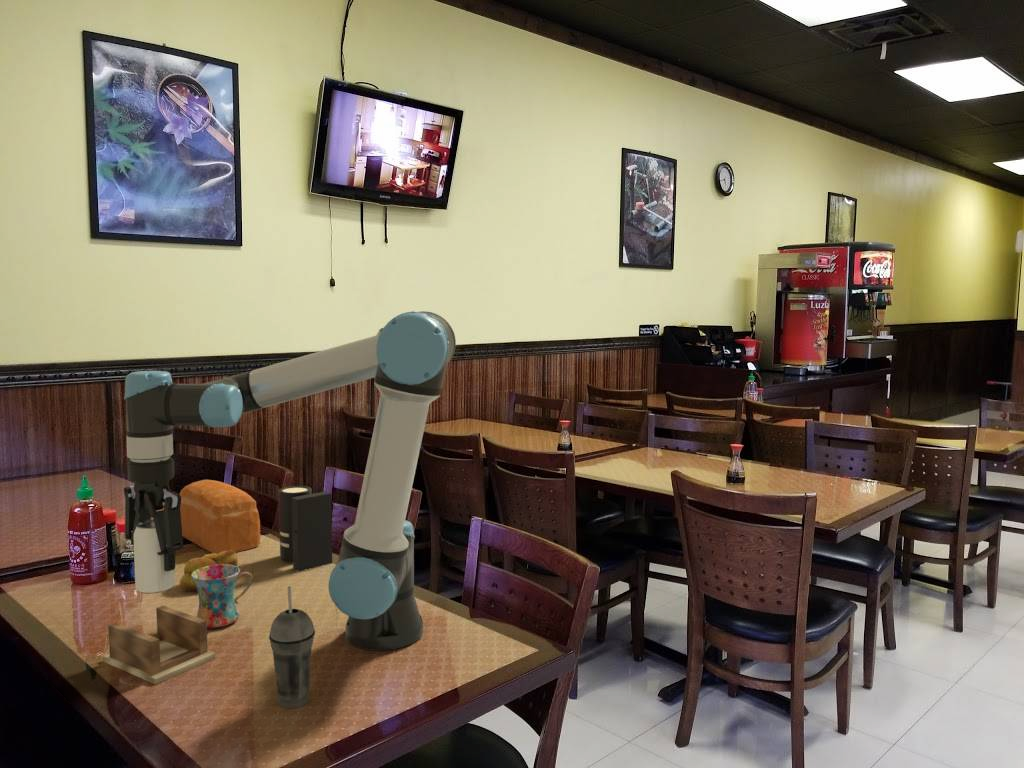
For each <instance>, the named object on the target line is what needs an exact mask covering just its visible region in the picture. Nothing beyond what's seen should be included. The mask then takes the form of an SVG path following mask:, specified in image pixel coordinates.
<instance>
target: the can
mask: <svg viewBox="0 0 1024 768" xmlns="http://www.w3.org/2000/svg"><path fill="white" fill-rule="evenodd" d="M166 546H167V545H166ZM157 552H161V550H160V545H159V541H158V537H157V532H156V528H155V524H154V519H153V518H151V520H149V521H147V522H146V523H141V522H139V523H137V524H136V529H135V532H134V546H133V560H134V581H135V583H134V584H135V586H134V587H135V590H136V591H137V592H138V593H140V594H144V595H145V594H146V595H147V594H148V595H153V594H160V593H163V592H167V591H169V590H170V589H172V588H173V587H174V586H172V587H169V588H166V589H163V590H160V589H159V578H158V554H157Z"/></svg>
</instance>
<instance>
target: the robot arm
mask: <svg viewBox="0 0 1024 768" xmlns="http://www.w3.org/2000/svg"><path fill="white" fill-rule="evenodd" d="M456 344H457V343H456V334H455V332H454V330H453V328H452V326H451V325H450V323H449V322H448V321H447V320H446V319H445V318H444V317H443V316H441V315H439V314H437V313H435V312H431V311H424V310H423V311H414V310H413V311H407V312H403V313H400V314H398V315H397V316H394V317H393V318H392V319H390V320H388V322H387V323H386V324H385V325H384V326H383V327H382V328H379V329H378V331H377V333H376V335H373V336H369V337H366V338H362V339H359V340H355V341H352V342H349V343H348V342H347V343H345V344H342V345H341V344H340V345H337V346H334V347H330V348H328V349H324V350H320V351H317V352H313V353H310V354H305V355H302V356H299V357H296V358H292V359H288V360H285V361H281V362H278V363H275V364H274V363H273V364H270V365H267V366H264V367H261V368H257V369H253V370H251V371H246V372H242V373H239V374H234V375H230V376H228V377H225V378H222V379H216V380H214V381H208V382H204V383H176V382H173V378H172V374H171V373H170V372H169V371H166V370H165V371H164V370H139V371H133V372H129V374H127V375H126V376H125V382H124V385H125V387H124V397H123V399H124V401H125V402H124V403H125V404H124V405H125V419H126V421H125V422H126V457H127V458H129V460H128V461H127V479H128V481H129V482H131V483H133V485H129V486H125V487H124V488H123V495H124V500H125V501H124V503H125V506H124V507H125V508H124V509H125V511H124V513H125V514H124V523H125V524H124V538H125V540H126V541H128V540H129V541H130V544H131V545H132V546H133V547H134V532H135V529H136V524H137V523H139V522H141V523H146V522H147V521H149V520H152V519H154V524H155V528H156V532H157V537H158V541H159V545H160V550H161V552H157V554H158V578H159V589H160V590H163V589H166V588H169V587H172V586H173V587H174V586H176V576H175V575H176V573H175V569H176V552H177V551H180V550H183V549H184V539H183V538H184V537H183V536H182V524H181V512H180V505H181V496H180V494H173V493H171V489H170V485H169V482H170V481H171V480H172V479H173V478H174V476H175V460H174V458H173V457H172V455H174V437H173V433H174V429H173V427H174V426H175V427H179V426H181V427H182V426H183V427H204V428H205V427H207V428H208V427H209V428H211V427H212V428H214V429H215V428H216V429H218V428H222V427H223V428H224V427H226V428H227V427H228V428H229V427H233V426H236V425H237V424H238V423H239V420H240V419H241V417H242V415H243V414H247V413H250V412H251V413H252V412H254V411H258V410H261V409H264V408H268V407H271V406H275V405H279V404H283V403H286V402H290V401H293V400H297V399H301V398H305V397H308V396H312V395H315V394H320V393H323V392H326V391H330V390H334V389H337V388H341V387H345V386H348V385H353V384H355V383H358V382H363V381H367V380H370V379H373V378H374V381H373V382H374V386H375V387H376V388H377V390H378V391H379V393H380V396H379V401H378V406H377V411H376V416H375V422H374V426H373V430H372V431H373V432H372V435H371V436H372V437H371V440H370V446H369V450H368V456H367V461H366V466H365V471H364V474H363V475H364V476H363V481H362V486H361V490H360V495H359V501H358V505H357V509H356V510H357V511H356V514H355V520H354V523H353V524H352V525H350V527H348V528H346V529H344V532H343V536H342V540H341V545H340V550H339V555H338V559H337V563H336V565H335V566H334V567H333V569H332V570H331V572H330V576H329V579H328V593H329V596H330V599H331V601H332V602H333V604H334V605H335V607H337V609H338V610H339V611H340V612H341V613H343V614H344V615H346V616H348V618H347V620H346V623H345V639H346V641H347V643H349V644H350V645H352V646H353V647H356V648H360V649H363V650H367V651H368V650H370V651H389V650H390V651H391V650H395V649H400V648H403V647H407V646H410V645H412V644H414V643H416V642H418V641H419V640H421V638H422V637H423V633H424V620H423V617H422V615H421V614H420V610H419V608H418V603H417V601H416V598H415V564H414V563H415V557H414V555H415V554H414V553H415V550H414V549H415V548H414V547H415V544H414V540H415V538H416V537H415V531H414V526H413V524H412V523H411V521H410V520H409V521H408V520H406V518H407V512H408V508H409V502H410V500H411V499H410V498H411V495H412V490H413V489H412V488H413V484H414V479H415V475H416V470H417V465H418V459H419V456H420V450H421V447H422V441H423V436H424V432H425V426H426V423H427V417H428V415H429V414H428V412H429V408H430V404H431V403H432V402H434V401H436V400H437V399H438V398H440V397H441V393H442V388H443V384H444V380H445V375H446V371H447V365H448V364H449V363H450V362H451V361H452V359H453V357H454V354H455V352H456V351H455V350H456ZM166 545H167V546H166ZM173 587H172V588H173Z"/></svg>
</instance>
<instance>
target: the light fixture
mask: <svg viewBox="0 0 1024 768" xmlns="http://www.w3.org/2000/svg"><path fill="white" fill-rule="evenodd" d="M278 515H279V516H278V517H279V518H278V520H279V521H278V523H279V554H280V555H279V556H280V557H279V559H280V561H281V562H284V563H291V564H292V569H293V570H295V571H296V572H302V570H303V571H306V570H305V569H307V570H310V568H311V569H314V567H315V568H318V566H319V567H323V566H326V565H331V564H333V527H332V526H333V521H332V520H333V519H332V515H333V514H332V492H331V493H330V492H328V491H320V492H313V491H312V487H310V486H307V485H291V486H285V487H282V488H279V489H278ZM322 565H323V566H322Z"/></svg>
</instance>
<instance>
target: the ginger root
mask: <svg viewBox="0 0 1024 768" xmlns="http://www.w3.org/2000/svg"><path fill="white" fill-rule="evenodd" d="M220 564H227V565H234V566H237V567H238V565H239V562H238V556H237V552H235V551H234V550H227V551H223V552H221V553H219V554H216V553H208V554H207V553H206V554H204V555H203V556H202V557H195V558H194V557H193V558H191V559H189V560H188V562H186V564H185V565H184V568H183V573H184V574H183V575H182V576H181V578H180V580H179V586H180V588H181V589H182V590H184V591H197V588H196V585H195V583H194V581H193V579H192V577H191V574H192V573H193V572H194V571H195V570H197V569H199V568H202V567H206V566H211V565H220Z"/></svg>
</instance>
